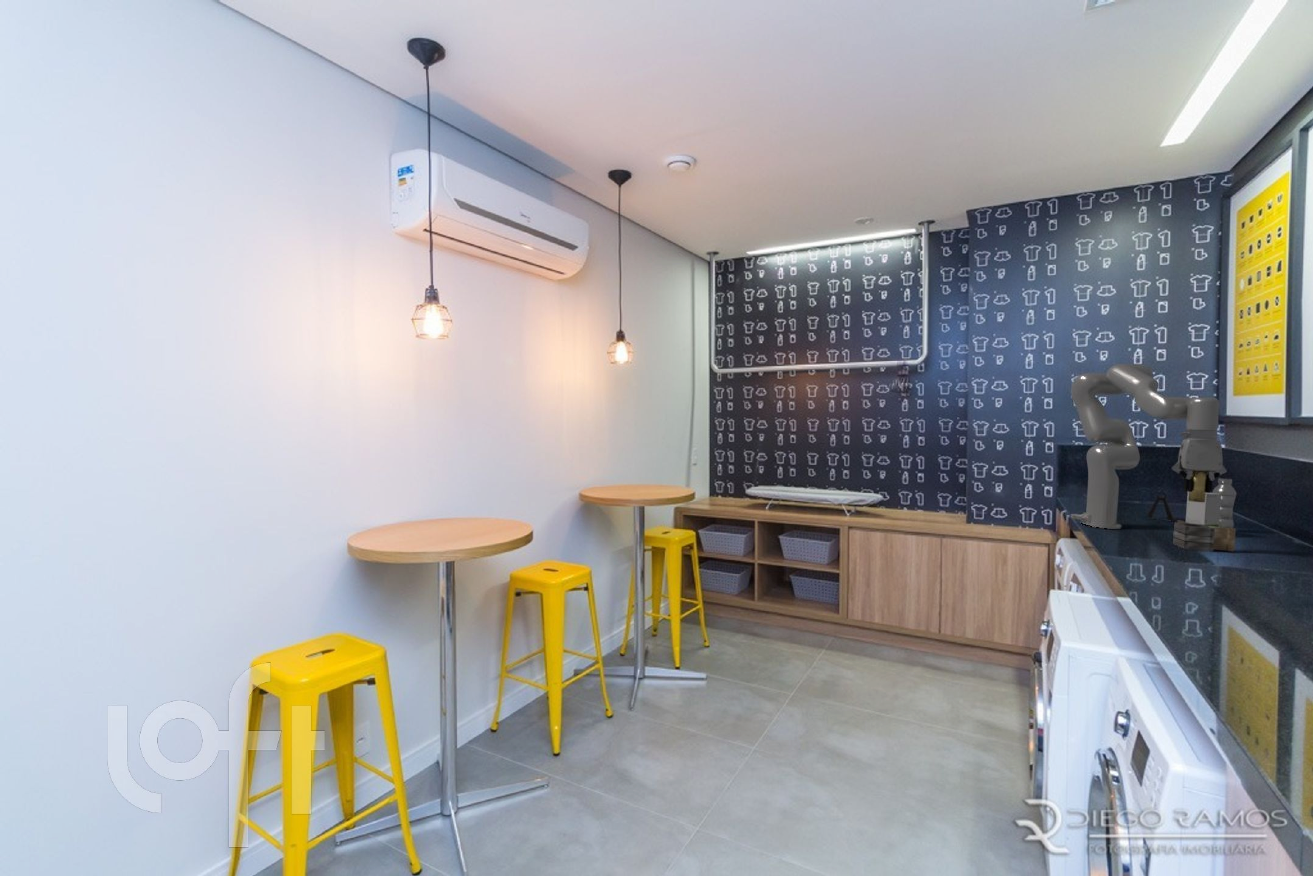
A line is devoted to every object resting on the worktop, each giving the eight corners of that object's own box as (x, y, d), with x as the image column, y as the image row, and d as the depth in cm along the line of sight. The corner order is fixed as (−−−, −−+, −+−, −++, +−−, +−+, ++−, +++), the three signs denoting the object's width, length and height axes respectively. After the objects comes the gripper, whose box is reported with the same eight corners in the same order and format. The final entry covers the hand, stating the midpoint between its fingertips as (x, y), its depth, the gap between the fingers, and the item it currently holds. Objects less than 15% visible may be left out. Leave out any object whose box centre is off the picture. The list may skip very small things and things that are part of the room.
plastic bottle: (1208, 528, 231) (1212, 477, 230) (1232, 531, 226) (1236, 478, 225) (1209, 530, 226) (1213, 478, 225) (1234, 533, 221) (1238, 480, 220)
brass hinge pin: (1190, 501, 192) (1193, 464, 191) (1183, 499, 197) (1185, 463, 196) (1210, 502, 190) (1213, 465, 190) (1202, 500, 195) (1204, 464, 194)
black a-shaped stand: (1174, 520, 247) (1176, 491, 246) (1173, 522, 243) (1176, 493, 242) (1146, 517, 253) (1148, 489, 253) (1145, 518, 249) (1147, 490, 248)
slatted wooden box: (1183, 549, 192) (1185, 526, 192) (1164, 540, 205) (1165, 519, 205) (1212, 551, 190) (1214, 528, 189) (1191, 542, 203) (1193, 521, 202)
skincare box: (1203, 536, 214) (1206, 493, 213) (1182, 532, 221) (1185, 491, 220) (1219, 535, 216) (1223, 493, 216) (1198, 532, 223) (1202, 490, 222)
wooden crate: (1183, 548, 192) (1185, 526, 192) (1172, 543, 199) (1174, 522, 199) (1238, 553, 188) (1239, 530, 187) (1224, 548, 195) (1226, 526, 194)
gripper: (1174, 435, 192) (1170, 491, 193) (1240, 437, 186) (1236, 495, 187) (1164, 434, 199) (1160, 488, 200) (1227, 436, 193) (1223, 492, 194)
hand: (1197, 491), depth 193 cm, fingers closed on brass hinge pin, 4 cm apart
